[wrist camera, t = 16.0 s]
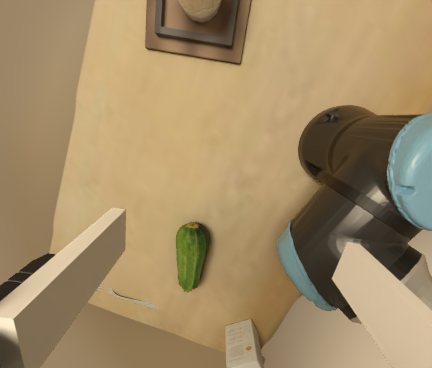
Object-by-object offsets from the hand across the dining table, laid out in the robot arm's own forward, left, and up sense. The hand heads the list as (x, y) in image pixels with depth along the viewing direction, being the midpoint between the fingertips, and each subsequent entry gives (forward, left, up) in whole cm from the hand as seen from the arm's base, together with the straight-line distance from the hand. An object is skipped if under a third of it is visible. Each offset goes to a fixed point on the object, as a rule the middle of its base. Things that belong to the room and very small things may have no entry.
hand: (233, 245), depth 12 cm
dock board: (+9, -25, -32) cm, 41 cm away
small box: (-13, +49, -32) cm, 60 cm away
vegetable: (+4, +26, -32) cm, 41 cm away
